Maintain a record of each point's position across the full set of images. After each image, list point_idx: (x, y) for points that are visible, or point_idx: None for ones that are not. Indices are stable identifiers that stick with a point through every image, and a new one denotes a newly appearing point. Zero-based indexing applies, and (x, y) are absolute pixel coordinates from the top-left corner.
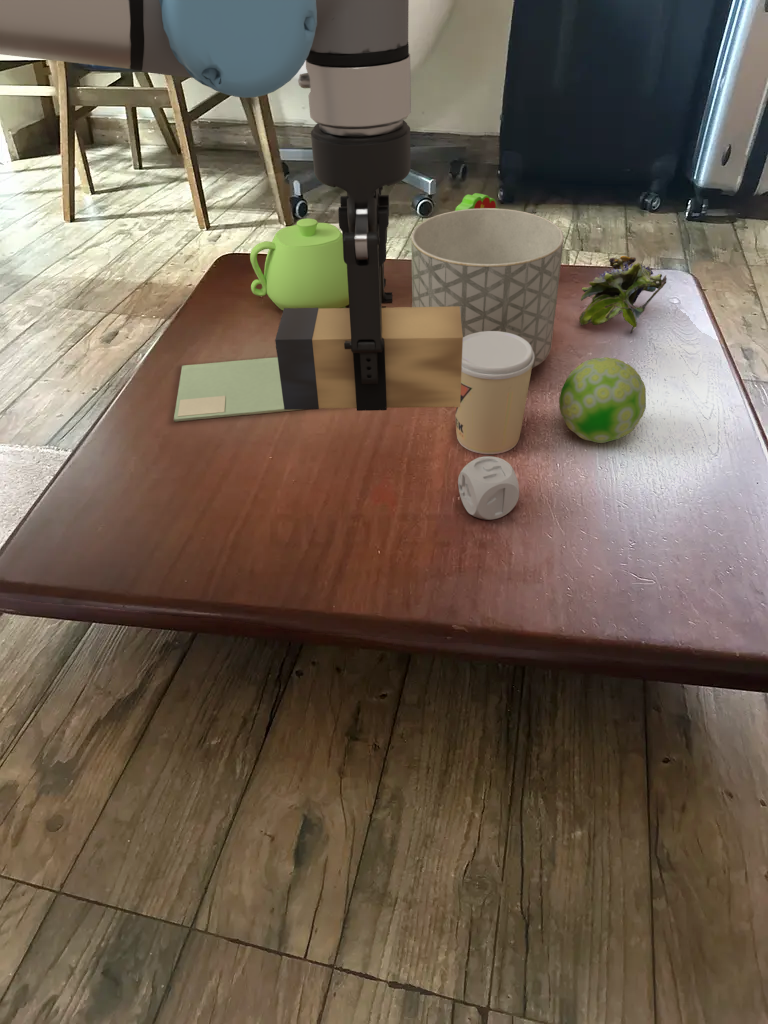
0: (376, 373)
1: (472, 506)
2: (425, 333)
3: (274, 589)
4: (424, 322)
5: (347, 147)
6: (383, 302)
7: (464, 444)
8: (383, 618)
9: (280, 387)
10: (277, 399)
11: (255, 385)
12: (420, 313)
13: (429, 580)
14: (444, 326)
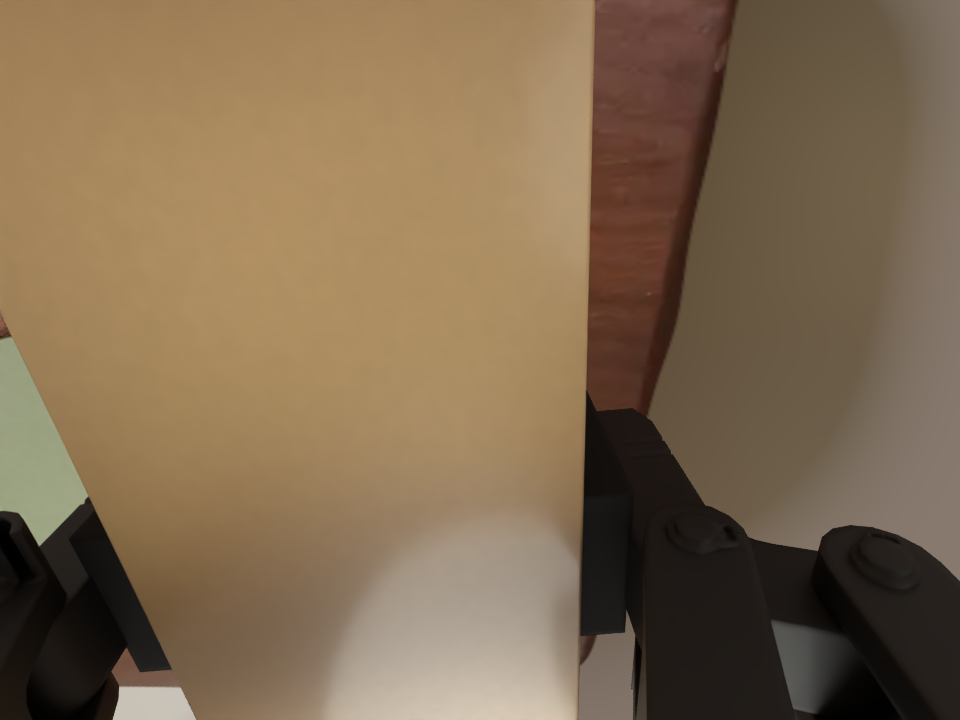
0: (660, 442)
1: None
2: (506, 236)
3: (605, 388)
4: (304, 258)
5: None
6: (52, 573)
7: None
8: (684, 207)
9: (36, 490)
10: (82, 487)
11: (49, 532)
12: (133, 304)
13: (594, 124)
14: (349, 49)
